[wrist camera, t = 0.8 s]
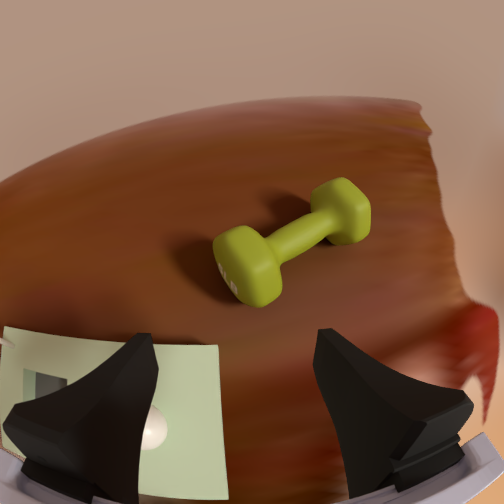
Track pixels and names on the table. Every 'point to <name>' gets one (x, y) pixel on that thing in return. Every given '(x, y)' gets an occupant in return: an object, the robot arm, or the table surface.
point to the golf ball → (154, 429)
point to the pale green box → (165, 399)
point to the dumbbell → (290, 241)
